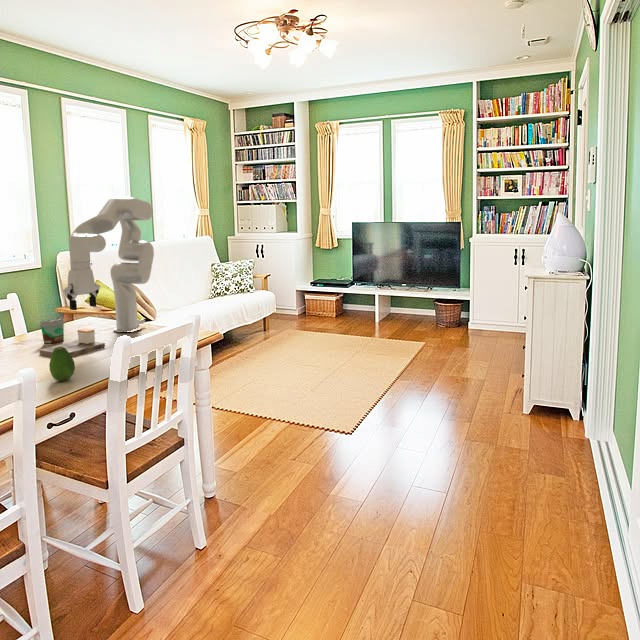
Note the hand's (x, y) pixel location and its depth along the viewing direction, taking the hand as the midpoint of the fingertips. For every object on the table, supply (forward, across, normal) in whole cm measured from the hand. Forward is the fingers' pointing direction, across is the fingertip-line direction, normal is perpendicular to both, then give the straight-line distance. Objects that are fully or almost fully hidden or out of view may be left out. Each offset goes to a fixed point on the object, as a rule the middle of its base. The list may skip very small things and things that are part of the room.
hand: (83, 308), depth 237 cm
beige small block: (+14, -1, 0) cm, 14 cm away
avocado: (+18, +34, +29) cm, 48 cm away
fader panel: (+17, +6, 0) cm, 18 cm away
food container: (+17, -1, -18) cm, 25 cm away
